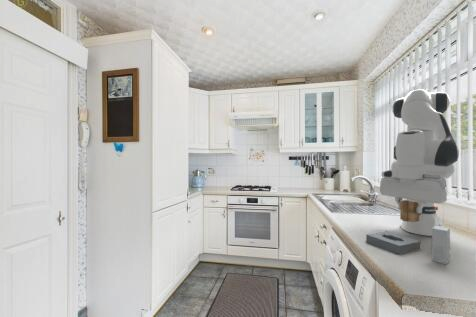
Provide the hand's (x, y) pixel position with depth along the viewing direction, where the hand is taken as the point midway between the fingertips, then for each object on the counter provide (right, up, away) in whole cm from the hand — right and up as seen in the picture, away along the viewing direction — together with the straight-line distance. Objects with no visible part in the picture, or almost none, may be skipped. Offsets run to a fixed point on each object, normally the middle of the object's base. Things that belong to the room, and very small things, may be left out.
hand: (409, 211), depth 80 cm
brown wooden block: (0, -3, 0) cm, 3 cm away
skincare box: (+12, -19, +1) cm, 22 cm away
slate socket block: (+4, -18, +15) cm, 24 cm away
